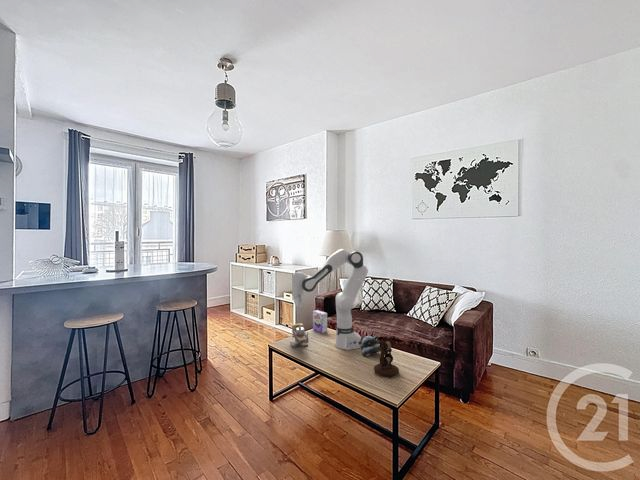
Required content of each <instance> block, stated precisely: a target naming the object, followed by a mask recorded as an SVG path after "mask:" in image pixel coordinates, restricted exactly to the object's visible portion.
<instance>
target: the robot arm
mask: <svg viewBox="0 0 640 480" xmlns="http://www.w3.org/2000/svg"><path fill="white" fill-rule="evenodd" d="M346 263H347V264H349V265H351V266H352V268H353V270H352V272H351V274H350V275H349V277H348V278H347V280H346V283H345V285H344V288H343V289H342V291H341V292H338V293H337V294H336V295H335V311H336V329H335V331H336V338H335V339H336V340H335V344H334V346H335V347H336V348H338V349H342V350H347V351H350V350H356V349H359V348H360V346H359V343H358V342H359V341H360V340H361V337H362V336H361V335H360V334H359V333H358V332H356V331H357V328H356V327H354V326H352V325H353V323H352V322H353V321H352V319H353V318H352V316H353V315H352V311H351V310H352V309H353V307H354V306H355V305H354V304H355V302H356V299H357V297H358V296H357V295H358V293H359V291H360V290H361V287H362V286H363V284H364V283H365V280H366V278H367V276H368V273H369V269H368V268H367V266H366V265H364V256H363V254H362V253H361V252H360V251H357V250H356V251H355V250H354V251H352V252H348V251H347V250H346V249H344V248H341V249H338V250H337V251H335V252H334V253H332V254H331V255H330V256H329V257H328V258H327V259H326V260H325V261H324V263H323V266H322V267H321V268H320V269H319V270H318V271H317V272H316V273H315V274H314V275H309V274H306V273H304V272H303V271H297V272H294V273H293V274H292V277H291V285H292V288H291V291H292V294H291V295H292V298H293V302H294V305H295V307H296V311H297V313H298V312H300V311H301V310H300V309H303V308H304V307H303V306H304V305H303V303H304V302H303V297H304V296H305V292H307V293H310V292H313V291H314V290H315V289H316V287H317V285H318V284H319V283H320V282H321V281H322V280H323V279H324V278H326V277H327V276H329V274H331V273H333V272H335V271H336V270H338V269H340V268H341V267H342V266H344V264H346ZM360 349H361V348H360Z"/></svg>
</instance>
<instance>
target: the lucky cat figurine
mask: <svg viewBox="0 0 640 480" xmlns="http://www.w3.org/2000/svg"><path fill="white" fill-rule="evenodd" d="M358 343H359V346H360V350H361V354H362V357H365V358H366V357H368V356H371V355H374V354H377V352H378V353H380V350H381V348H380V342H379V339H378V336H377V335H375V336H374V334H369V335H367V336H363V337H362V336H361V340H360V341H359V342H358Z"/></svg>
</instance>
